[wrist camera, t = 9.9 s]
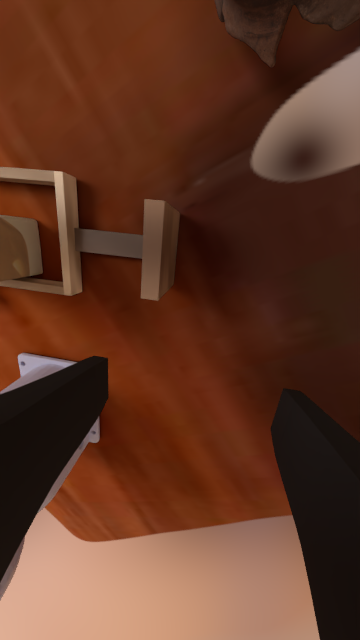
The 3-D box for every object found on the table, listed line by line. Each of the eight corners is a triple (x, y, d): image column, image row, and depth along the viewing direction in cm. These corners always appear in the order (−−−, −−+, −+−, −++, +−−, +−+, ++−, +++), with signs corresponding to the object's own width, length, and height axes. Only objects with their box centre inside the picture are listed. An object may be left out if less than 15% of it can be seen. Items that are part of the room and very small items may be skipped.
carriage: (171, 304, 18) (156, 327, 13) (-27, 276, 20) (-102, 287, 15) (182, 186, 15) (167, 161, 10) (-51, 167, 17) (-154, 139, 12)
